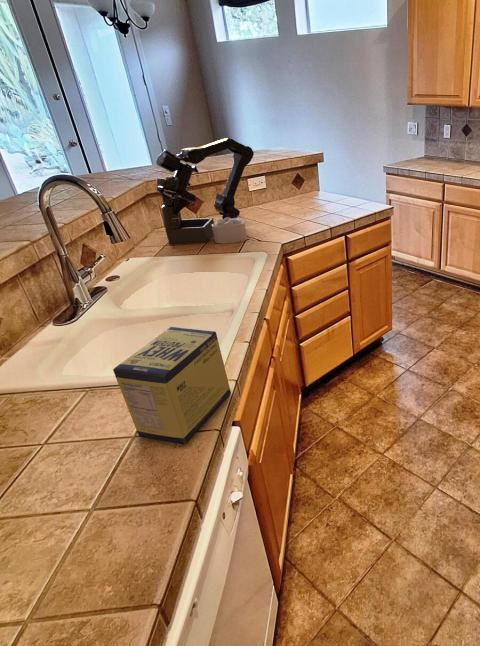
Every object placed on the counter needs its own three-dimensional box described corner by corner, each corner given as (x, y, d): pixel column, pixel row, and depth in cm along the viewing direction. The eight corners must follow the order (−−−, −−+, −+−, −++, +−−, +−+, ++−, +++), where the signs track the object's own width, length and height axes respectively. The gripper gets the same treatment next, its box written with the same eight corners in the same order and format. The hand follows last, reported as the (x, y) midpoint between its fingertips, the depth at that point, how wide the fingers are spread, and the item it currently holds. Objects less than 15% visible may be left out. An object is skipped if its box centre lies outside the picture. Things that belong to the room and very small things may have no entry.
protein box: (232, 392, 92) (217, 330, 85) (186, 445, 78) (163, 376, 71) (189, 386, 94) (170, 325, 87) (137, 437, 80) (109, 369, 73)
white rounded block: (248, 240, 183) (244, 220, 179) (216, 245, 179) (211, 224, 175) (245, 233, 192) (241, 214, 188) (214, 238, 187) (209, 218, 183)
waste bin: (216, 232, 195) (213, 217, 192) (207, 242, 182) (204, 227, 179) (180, 233, 193) (176, 219, 190) (169, 244, 181) (165, 229, 178)
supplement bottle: (177, 229, 174) (172, 199, 170) (161, 229, 174) (155, 199, 170) (186, 227, 181) (181, 197, 176) (169, 226, 181) (164, 197, 176)
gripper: (150, 166, 173) (137, 202, 172) (178, 170, 164) (163, 208, 163) (175, 179, 183) (162, 213, 182) (202, 183, 174) (189, 219, 173)
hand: (168, 213), depth 174 cm, fingers closed on supplement bottle, 7 cm apart
